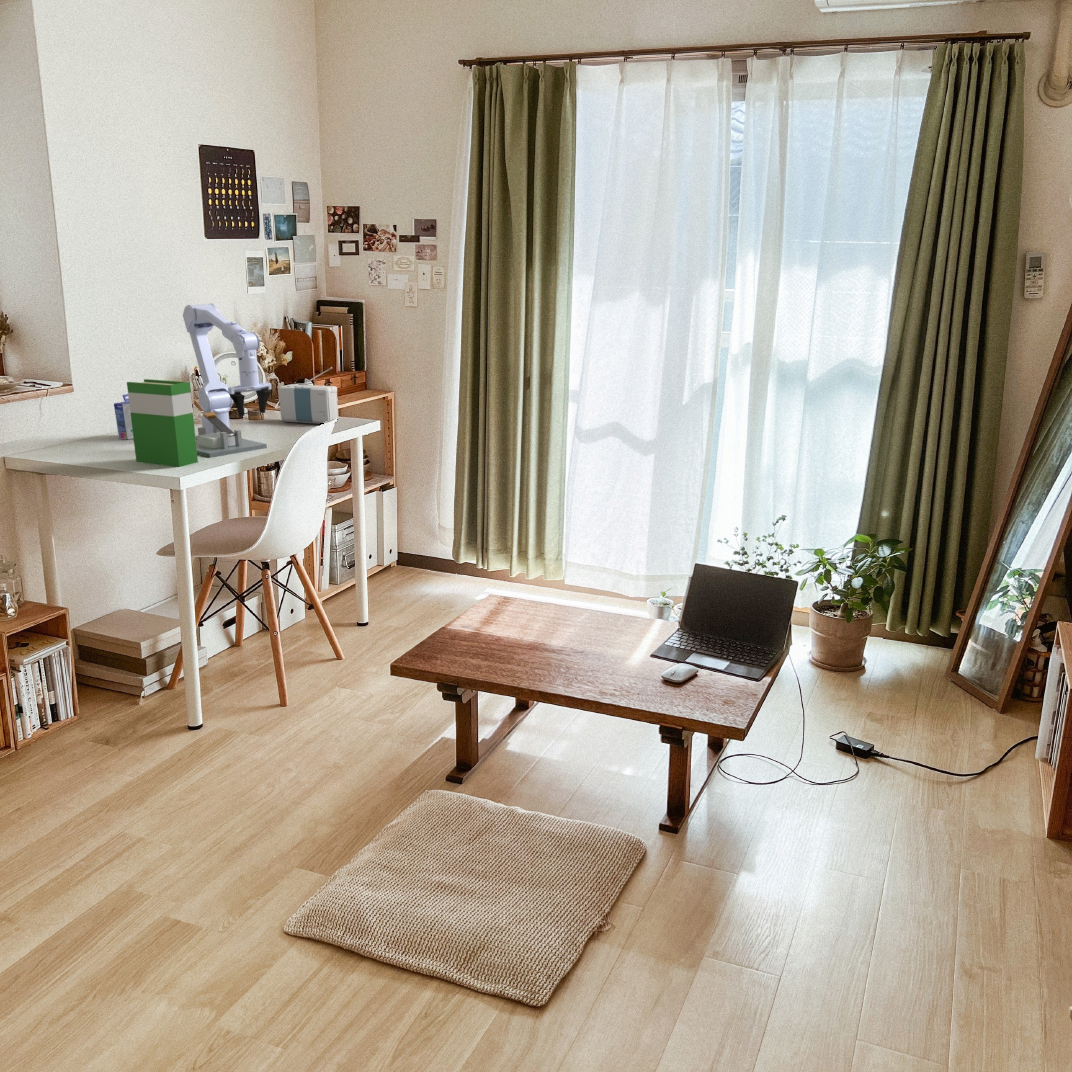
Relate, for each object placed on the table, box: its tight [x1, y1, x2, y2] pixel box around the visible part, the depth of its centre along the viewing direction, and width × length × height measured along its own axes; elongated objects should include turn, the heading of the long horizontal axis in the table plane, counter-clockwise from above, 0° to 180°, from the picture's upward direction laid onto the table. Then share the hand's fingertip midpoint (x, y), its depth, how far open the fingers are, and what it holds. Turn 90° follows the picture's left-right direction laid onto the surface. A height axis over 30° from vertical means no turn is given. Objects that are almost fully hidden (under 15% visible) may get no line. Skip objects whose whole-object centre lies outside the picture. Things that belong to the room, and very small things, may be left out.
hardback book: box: [126, 378, 199, 468], centre depth 307 cm, size 18×7×24 cm, turn 63°
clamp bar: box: [202, 412, 236, 437], centre depth 328 cm, size 14×3×1 cm, turn 47°
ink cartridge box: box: [113, 393, 134, 440], centre depth 349 cm, size 10×6×14 cm, turn 146°
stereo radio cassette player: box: [278, 366, 339, 425], centre depth 372 cm, size 21×8×20 cm, turn 67°
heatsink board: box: [196, 425, 268, 458], centre depth 330 cm, size 22×20×6 cm
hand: (252, 414), depth 332 cm, fingers open, 7 cm apart
